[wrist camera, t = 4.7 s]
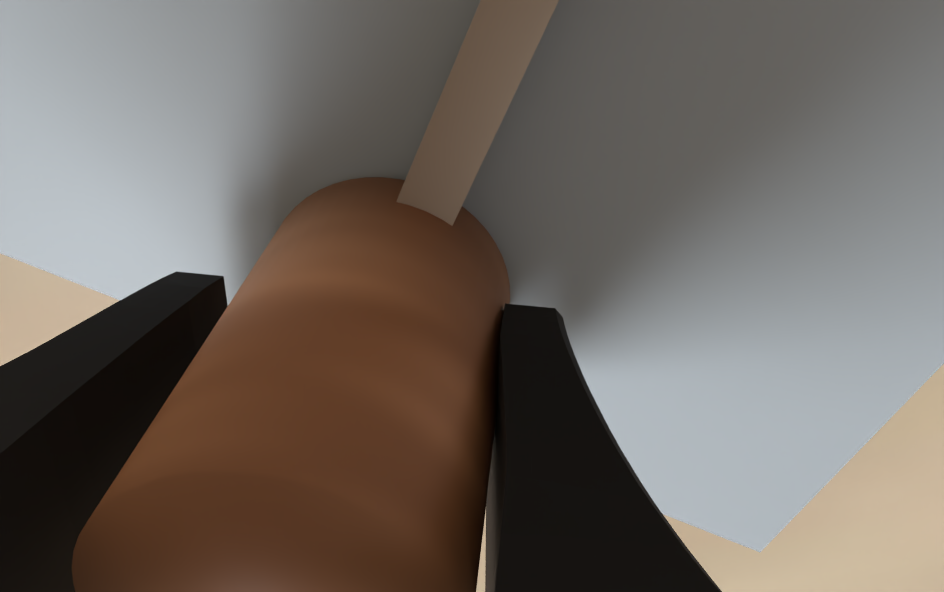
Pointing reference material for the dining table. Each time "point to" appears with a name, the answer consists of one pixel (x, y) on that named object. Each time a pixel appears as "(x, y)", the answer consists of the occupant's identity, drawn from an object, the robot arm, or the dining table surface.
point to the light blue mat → (544, 194)
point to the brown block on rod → (340, 383)
